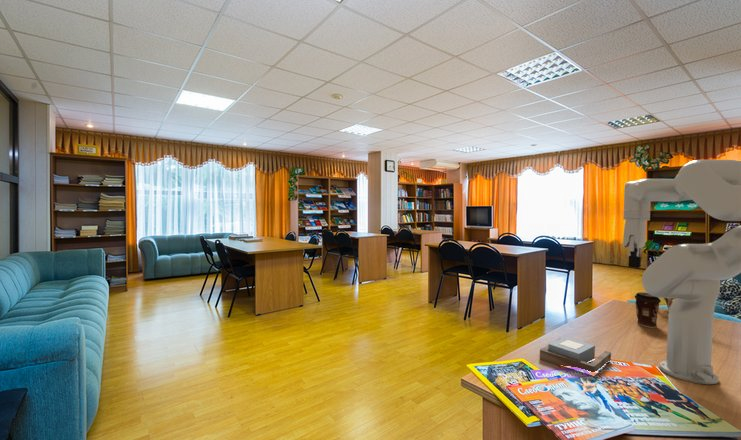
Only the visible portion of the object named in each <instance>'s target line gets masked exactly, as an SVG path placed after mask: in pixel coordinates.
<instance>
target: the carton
mask: <svg viewBox="0 0 741 440" xmlns="http://www.w3.org/2000/svg"><path fill="white" fill-rule="evenodd" d="M560 338H561V337H560ZM558 339H559V338H558ZM558 339H556V340H557V341H556V340H554V341H552V342H550V343H548V344H547V345H548V351H551V352H555V353H558V354H561V355H564V356H568V357H571V358H574V359H577V360H581V361H584V362H588V361H590V360H592V359H596V358H595V357H596V356H595V355H596V354H595V352H596V345H594V344H592V343H589V342H588V343H587V342H584V341H580V340H579V339H574V338H570V337H568V336H563V337H562V338H561V339H559V340H558Z"/></svg>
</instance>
